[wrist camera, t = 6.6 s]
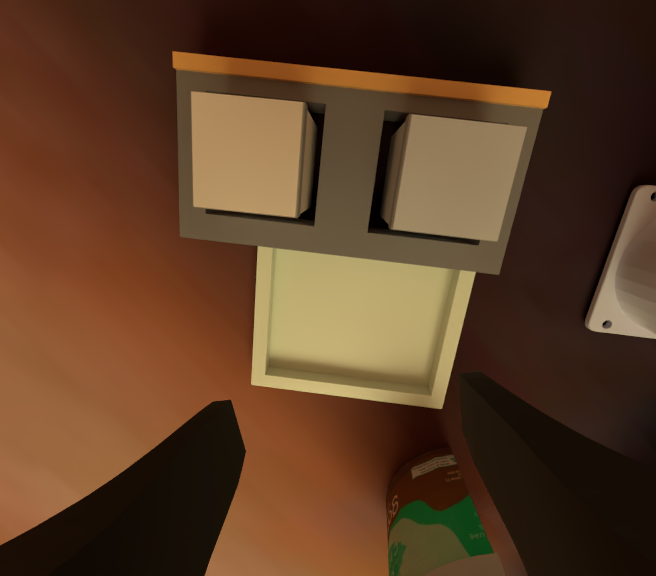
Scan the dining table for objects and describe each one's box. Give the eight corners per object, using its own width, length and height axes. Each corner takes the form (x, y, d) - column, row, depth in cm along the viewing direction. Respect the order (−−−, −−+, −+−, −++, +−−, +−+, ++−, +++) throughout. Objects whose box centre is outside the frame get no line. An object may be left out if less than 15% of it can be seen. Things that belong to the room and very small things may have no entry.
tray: (471, 247, 19) (480, 252, 18) (436, 395, 22) (441, 409, 21) (264, 223, 19) (258, 226, 18) (257, 372, 22) (251, 384, 21)
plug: (240, 119, 18) (189, 89, 12) (318, 126, 18) (304, 100, 12) (238, 199, 19) (192, 207, 13) (312, 207, 19) (296, 218, 13)
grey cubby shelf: (519, 105, 17) (551, 91, 14) (480, 263, 19) (501, 276, 17) (199, 71, 17) (172, 51, 15) (200, 230, 20) (177, 237, 17)
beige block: (470, 144, 18) (529, 125, 12) (452, 224, 19) (498, 242, 13) (390, 135, 18) (410, 112, 12) (378, 215, 19) (391, 230, 13)
